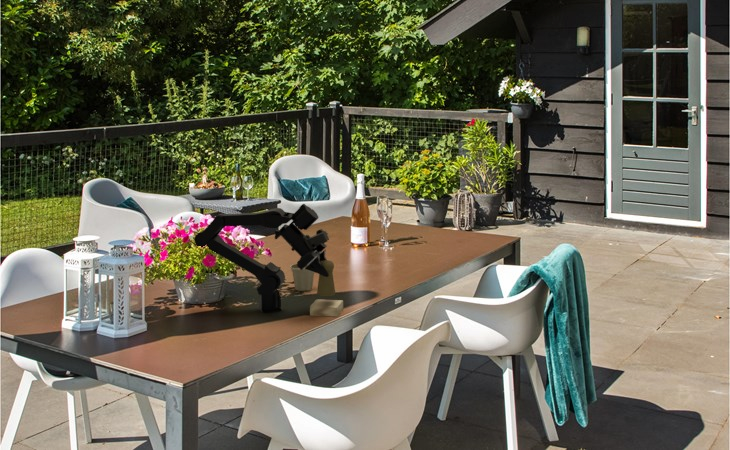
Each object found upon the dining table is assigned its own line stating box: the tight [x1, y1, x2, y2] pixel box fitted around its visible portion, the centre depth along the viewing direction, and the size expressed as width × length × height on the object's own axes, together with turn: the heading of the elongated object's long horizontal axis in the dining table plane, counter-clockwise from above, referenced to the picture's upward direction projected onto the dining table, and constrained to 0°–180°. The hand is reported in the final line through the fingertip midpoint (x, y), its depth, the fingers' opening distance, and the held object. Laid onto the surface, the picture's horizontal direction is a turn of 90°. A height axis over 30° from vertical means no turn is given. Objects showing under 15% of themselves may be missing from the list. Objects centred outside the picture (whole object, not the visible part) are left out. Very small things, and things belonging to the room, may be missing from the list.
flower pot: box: [289, 263, 315, 292], centre depth 341 cm, size 9×9×9 cm
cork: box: [316, 259, 336, 297], centre depth 310 cm, size 6×6×11 cm
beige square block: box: [309, 298, 344, 318], centre depth 312 cm, size 9×9×3 cm
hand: (330, 274), depth 309 cm, fingers closed on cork, 5 cm apart
